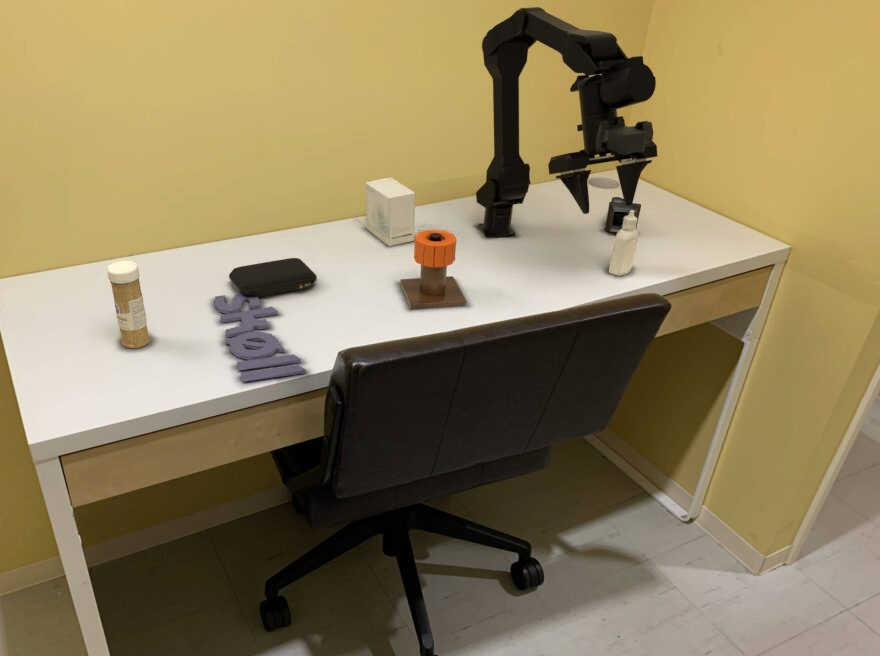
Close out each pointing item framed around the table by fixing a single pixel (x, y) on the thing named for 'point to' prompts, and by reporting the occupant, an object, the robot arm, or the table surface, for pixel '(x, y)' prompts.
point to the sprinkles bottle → (129, 303)
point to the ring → (434, 249)
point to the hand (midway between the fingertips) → (608, 209)
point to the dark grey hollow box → (619, 213)
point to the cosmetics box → (390, 211)
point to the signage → (255, 340)
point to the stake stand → (432, 287)
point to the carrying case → (272, 277)
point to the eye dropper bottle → (624, 246)
